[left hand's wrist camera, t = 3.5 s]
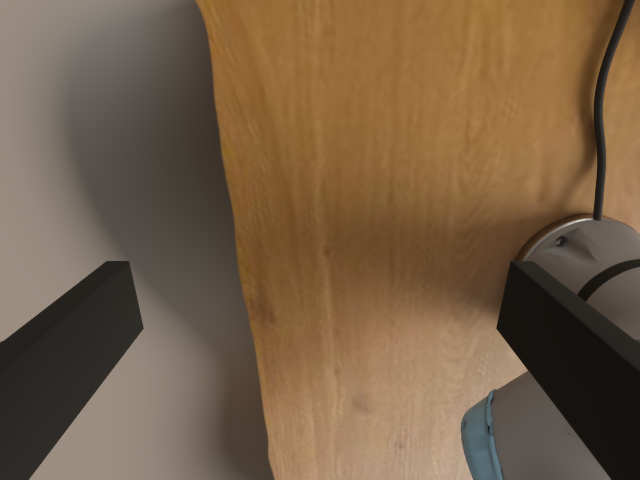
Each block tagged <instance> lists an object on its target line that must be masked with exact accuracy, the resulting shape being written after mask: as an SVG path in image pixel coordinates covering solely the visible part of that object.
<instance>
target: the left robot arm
mask: <svg viewBox="0 0 640 480" xmlns="http://www.w3.org/2000/svg"><path fill="white" fill-rule="evenodd" d="M634 2H635V0H625V2H624V5H623V8H622V11H621V13H620V16H619V19H618V21H617V24H616V26H615V29H614V32H613V34H612V37H611V39H610V42H609V45H608V47H607V50H606V53H605V56H604V58H603V62H602V65H601V68H600V72H599V76H598V80H597V85H596V91H595V98H594V128H595V136H596V145H597V179H596V190H595V202H594V212H593V214H585V215H576V216H572V217H568V218H565V219H562V220H559V221H557V222H555V223H553V224H551V225H549V226H547V227H546V228H544V229H543V230H541V231H540V232H538V233H537V234H536V235H535V236H534V237H532V238H531V239H530V240H529V241H528V243H527V244H526V245H525V246H524V247H523V249H522V250H521V251H520V253H519V255H518V256H517V258H516V260H515V261H511V263H510V268H509V273H508V277H507V282H506V286H505V291H504V296H503V300H502V305H501V309H500V314H499V319H498V323H497V328H496V329H497V330H498V331H499V332H500V334H501V335H502V336H503V338H504V339H505V340H506V342H507V343H508V344H509V346H510V347H511V348H512V350H513V351H514V352H515V354H516V355H517V356H518V357H519V359H520V360H521V361H522V363H523V364H524V365H525V367H526V368H527V369H528V371H527V372H525V373H524V374H522V375H521V376H519V377H517V378H516V379H514V380H513V381H511V382H509V383H508V384H506V385H504V386H503V387H501V388H500V389H494V390H492V391H491V392H490V393H489V394H488V396H487V397H485V398H484V399H483V400H481V401H480V402H478V403H477V404H476V405H474V406H473V407H471V408H470V409H469V410H468V411H467V412H466V413H465V415H464V416H463V419H462V422H461V440H462V445H463V450H464V454H465V457H466V461H467V464H468V467H469V470H470V472H471V475H472V478H473V480H640V234H639V233H638V232H637V231H635V230H634V229H633V228H631V227H630V226H628V225H626V224H624V223H622V222H619V221H617V220H614V219H612V218H609V217H606V216H602V206H603V195H604V184H605V172H606V147H605V136H604V127H603V98H604V90H605V85H606V80H607V76H608V72H609V68H610V65H611V62H612V59H613V56H614V53H615V51H616V48H617V45H618V43H619V40H620V38H621V35H622V33H623V30H624V28H625V25H626V23H627V20H628V17H629V15H630V12H631V9H632V7H633V4H634ZM142 330H143V323H142V319H141V314H140V309H139V305H138V300H137V296H136V291H135V286H134V282H133V277H132V273H131V268H130V263H129V261H106V262H105V263H104V264H103V265H101V266H100V267H99V268H97V269H96V270H95V271H93V272H92V273H91V274H90V275H88V276H87V277H86V278H84V279H83V280H82V281H80V282H79V283H78V284H77V285H75V286H74V287H73V288H72V289H70V290H69V291H68V292H66V293H65V294H64V295H62V296H61V297H60V298H59V299H57V300H56V301H55V302H53V303H52V304H51V305H50V306H48V307H47V308H46V309H44V310H43V311H42V312H40V313H39V314H38V315H37V316H35V317H34V318H33V319H31V320H30V321H29V322H28V323H26V324H25V325H24V326H22V327H21V328H20V329H18V330H17V331H16V332H15V333H13V334H12V335H11V336H9V337H8V338H7V339H6V340H4V341H2V342H0V480H29V479H30V477H31V476H32V475H33V473H34V472H35V471H36V469H37V468H38V467H39V465H40V464H41V463H42V461H43V460H44V459H45V458H46V456H47V455H48V454H49V452H50V451H51V450H52V448H53V447H54V446H55V444H56V443H57V442H58V440H59V439H60V438H61V436H62V435H63V434H64V433H65V431H66V430H67V429H68V427H69V426H70V425H71V423H72V422H73V421H74V419H75V418H76V417H77V415H78V414H79V413H80V411H81V410H82V409H83V408H84V406H85V405H86V403H87V402H88V401H89V400H90V398H91V397H92V396H93V394H94V393H95V392H96V390H97V389H98V388H99V386H100V385H101V384H102V382H103V381H104V380H105V379H106V377H107V376H108V375H109V373H110V372H111V371H112V369H113V368H114V367H115V365H116V364H117V363H118V361H119V360H120V359H121V357H122V356H123V355H124V354H125V352H126V351H127V350H128V348H129V347H130V346H131V344H132V343H133V342H134V340H135V339H136V338H137V336H138V335H139V334H140V332H141V331H142Z"/></svg>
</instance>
